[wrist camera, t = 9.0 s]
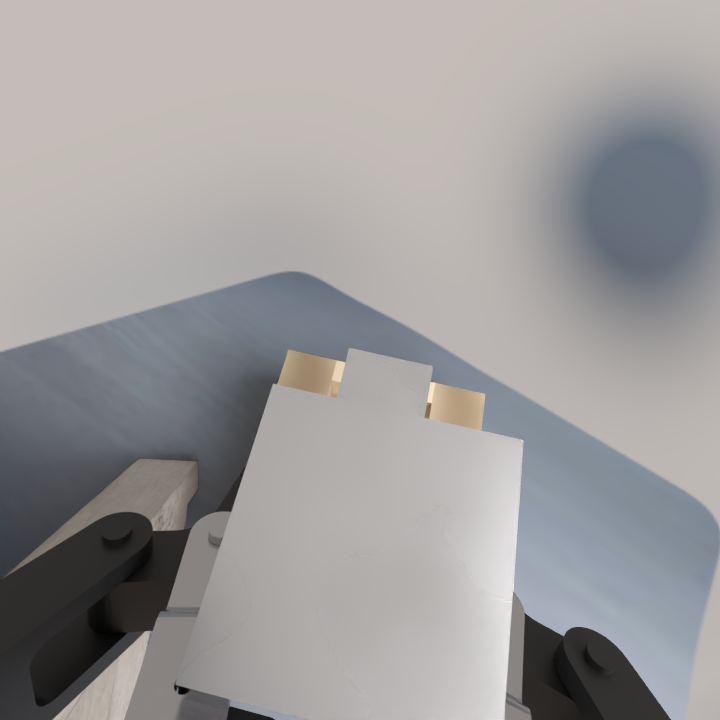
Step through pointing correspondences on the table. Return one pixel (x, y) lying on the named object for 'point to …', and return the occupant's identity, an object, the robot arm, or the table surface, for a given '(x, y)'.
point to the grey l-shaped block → (364, 559)
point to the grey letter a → (166, 512)
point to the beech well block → (328, 373)
